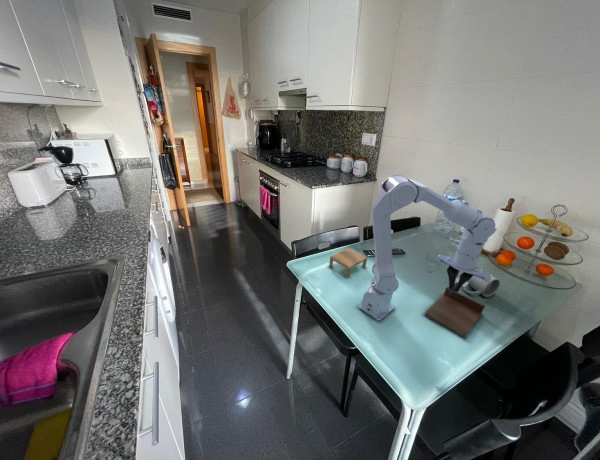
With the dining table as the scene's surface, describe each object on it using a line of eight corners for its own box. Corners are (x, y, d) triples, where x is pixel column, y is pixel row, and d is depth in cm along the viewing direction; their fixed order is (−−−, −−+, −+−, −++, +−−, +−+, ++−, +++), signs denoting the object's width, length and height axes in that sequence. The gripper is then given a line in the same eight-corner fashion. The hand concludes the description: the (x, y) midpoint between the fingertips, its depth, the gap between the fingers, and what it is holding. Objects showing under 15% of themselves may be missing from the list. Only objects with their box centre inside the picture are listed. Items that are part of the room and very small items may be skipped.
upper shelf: (347, 277, 99) (349, 267, 97) (329, 266, 105) (330, 256, 103) (365, 267, 106) (367, 257, 104) (347, 257, 113) (348, 248, 111)
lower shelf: (464, 338, 74) (469, 328, 72) (424, 315, 82) (427, 306, 80) (481, 314, 83) (485, 305, 82) (443, 295, 91) (447, 286, 90)
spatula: (456, 297, 76) (457, 294, 75) (442, 291, 78) (443, 287, 78) (468, 283, 82) (469, 280, 82) (455, 278, 85) (456, 275, 85)
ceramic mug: (475, 281, 100) (481, 265, 97) (495, 294, 93) (503, 277, 90) (455, 287, 97) (462, 270, 93) (475, 300, 90) (483, 283, 86)
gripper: (501, 258, 71) (484, 295, 77) (447, 239, 81) (435, 274, 86) (494, 266, 67) (476, 305, 72) (438, 245, 76) (426, 281, 82)
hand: (453, 289), depth 79 cm, fingers closed on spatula, 1 cm apart
